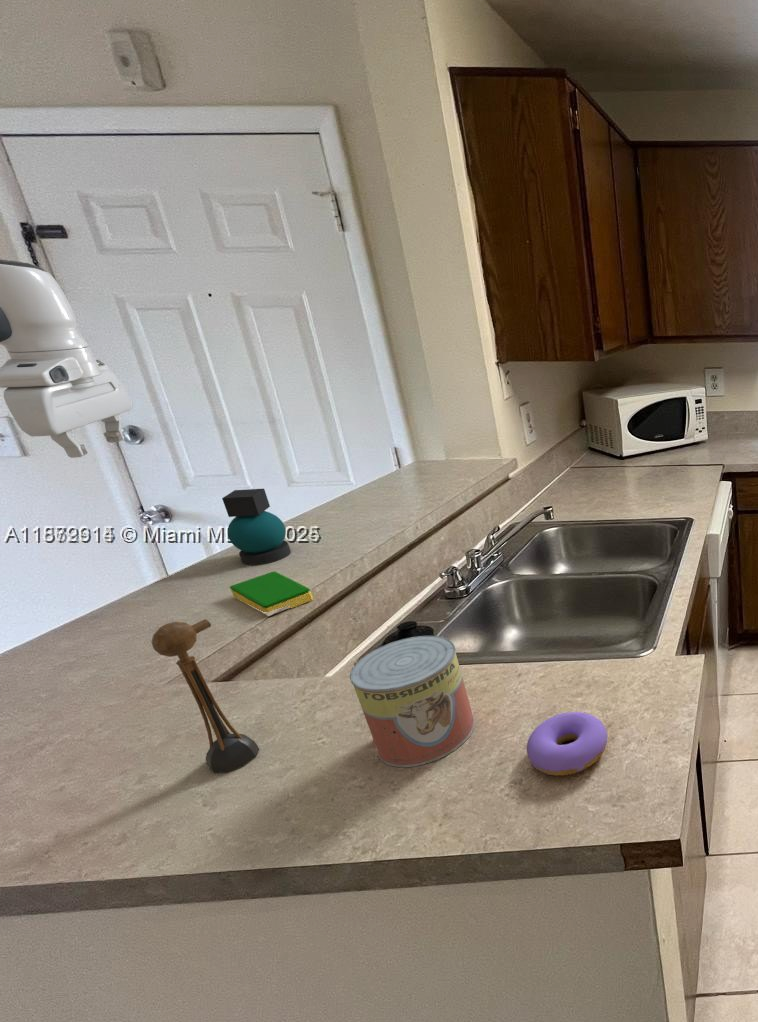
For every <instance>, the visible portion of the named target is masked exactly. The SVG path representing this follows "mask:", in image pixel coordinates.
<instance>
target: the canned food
mask: <svg viewBox="0 0 758 1022" xmlns="http://www.w3.org/2000/svg"><path fill="white" fill-rule="evenodd" d="M456 650H457V649H456V646H455V644H454V642H453V641H451V640H450V639H448V638H446V637H444V636H439V635H417V636H411V637H406V638H402V639H399V640H395V641H392V642H389V643H386V644H384V645H382V646H379V647H377V648H376V649H373V650H372V651H369V653H367V654H366V655H364V656H363V657H362V658H360V659H359V660H358V661H357V662H356V663H355V665H353V667H352V669H351V670H350V673H349V681H350V682H351V684H352V685H353V688H354V691H355V693H356V696H357V699H358V702H359V705H360V707H361V710H362V712H363V715H364V718H365V721H366V723H367V726H368V729H369V732H370V734H371V737H372V740H373V742H374V746H375V748H376V752H377V756H378V758H379V760H380V761H381V762H382V763H384V764H385V765H387V766H390V767H394V768H395V767H396V768H411V767H418V765H419V766H423V765H426V763H427V764H430V763H432V761H433V762H436V761H438V760H440V759H442V758H444V757H446V756H448V755H449V754H451V753H453V752H454V751H456V750H457V749H458V748H460V747H461V746H462V745H463V744H464V743H466V741H467V740H468V739H469V738H470V737H471V735H472V733H473V731H474V729H475V726H476V719H475V715H474V713H473V711H472V707H471V703H470V700H469V697H468V692H467V688H466V686H465V682H464V681H465V680H464V678H463V675H462V670H461V668H460V664H459V660H458V655H457V653H456Z"/></svg>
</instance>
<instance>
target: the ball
mask: <svg viewBox="0 0 758 1022" xmlns="http://www.w3.org/2000/svg"><path fill="white" fill-rule="evenodd" d="M286 535H287V530H286V526H285V524H284V522H283V521H282V520H281V518H280V517H278V515H276V514H274V513H271V512H270V511H266V510H265V511H264V512H262V513H261V514H260V515H252V516H236V517H234V518H233V519H231V521H230V522H229V524H228V527H227V537H228V539H229V541H230V543H231V544H232V545H233V546H234V547H235V548H236V549H238V550H240V551H239V552H238V555H239V558H240V560H241V563H242V564H244V565H246V566H259V565H260V566H261V565H267V564H270V563H273V561H274V562H277V561H280V560H282V559H285V558H286V557H288V556H289V555H290V554H291V553H292V550H291V548H290V545H289V543H288V541H286V540H285V538H286ZM287 555H288V556H287Z"/></svg>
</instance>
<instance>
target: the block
mask: <svg viewBox="0 0 758 1022" xmlns="http://www.w3.org/2000/svg"><path fill="white" fill-rule="evenodd" d="M222 502H223V504H224V505H223V506H224V508H225V510H226V513H227V516H228V518H233V517H234V518H235V517H236V516H252V515H260V514H261V513H262V512H264V511H266V510H267V509H269V508H271V505H270V502H269V499H268V496H267V493H266V490H265V488H251V489H248V488H247V489H234V490H233V491H231V492H229V493H228V494H227V495H225V496H223V497H222Z"/></svg>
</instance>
